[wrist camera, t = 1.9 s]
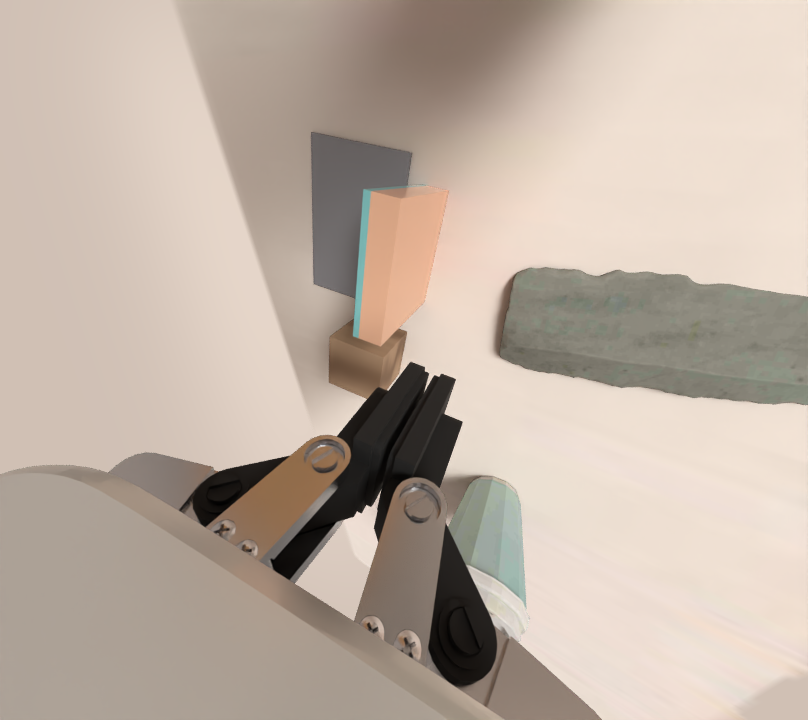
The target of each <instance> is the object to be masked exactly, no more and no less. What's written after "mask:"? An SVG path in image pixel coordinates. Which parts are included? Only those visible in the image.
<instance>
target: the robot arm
mask: <svg viewBox="0 0 808 720" xmlns="http://www.w3.org/2000/svg"><path fill="white" fill-rule="evenodd" d="M428 376H429V373H428V372H425V367H423V366H420V365H418V364H415V363H413V362H410V363H409V364H408V366H407V367H406V368H405V370H404V371H403V372H402V374H401V375H400V376H399V378H398V379H397V380H396V382H395V383H394V384H393V386H392V387H391V388H390V390H389V391H387V390H385V389H383V388H380V387H378V388H376V389H375V390H374V391H373V393H372V394H371V395H370V396H369V398H368V399H367V400H366V401H365V403H364V404H363V405H362V406H361V407H360V409H359V410H358V411H357V412H356V414H355V415H354V416H353V417H352V418H351V420H350V421H349V422H348V423H347V425H346V426H345V427H344V428H343V430H342V431H341V432H340V433H339V434H338V436H337V437H336V436H332V435H320V436H317V437H314V438H312V439H311V440H309V441H307V442H306V443H305V444H304V445H303V446H301V447H300V448H299V449H298V450H297V451H295V452H294V453H293V454H292V455H291V456H286V457H282V458H277V459H272V460H268V461H263V462H258V463H254V464H249V465H244V466H239V467H234V468H230V469H226V470H222V471H219V472H218V471H215V470H214V469H213V467H211V466H207V465H203V464H198V463H194V462H190V461H186V460H182V459H178V458H173V457H169V456H165V455H161V454H157V453H142V454H137V455H134V456H132V457H129V458H128V459H125V460H123V461H122V462H120V463H119V464H118V465H116V466H115V467H114V468H113V469H112V470H111V471H109V472H108V473H107V472H104V471H101V470H97V469H93V468H88V467H80V466H73V465H46V466H45V465H43V466H32V467H26V468H22V469H17V470H13V471H9V472H6V473H4V474H0V720H602V719H601V718H600V717H599V716H598V715H597V714H596V712H595V711H594V710H593V709H591V708H590V707H589V706H588V705H587V704H586V703H585V702H584V701H583V700H581V699H580V698H579V697H578V696H577V695H576V694H575V693H574V692H573V691H571V690H570V689H569V688H568V687H567V686H566V685H565V684H564V683H563V682H561V681H560V680H559V679H558V678H557V677H556V676H555V675H554V674H553V673H551V672H550V671H549V670H548V669H547V668H546V667H545V666H544V665H543V664H542V663H540V662H539V661H538V660H537V659H536V658H535V657H534V656H533V655H532V654H530V653H529V652H528V651H527V650H526V649H525V648H524V647H523V646H522V645H520V644H519V643H518V642H517V641H516V640H515V639H514V638H513V637H512V636H510V637H509V638H508V637H507V636H506V635H504V634H503V633H502V632H501V631H500V630H499V629H498V628H497V627H496V626H495V625H494V624H493V622H492V619H491V616H490V614H489V612H488V610H487V608H486V606H485V604H484V602H483V600H482V597H481V595H480V593H479V591H478V589H477V587H476V585H475V583H474V581H473V579H472V577H471V574H470V572H469V570H468V568H467V566H466V564H465V562H464V560H463V558H462V556H461V554H460V551H459V549H458V547H457V545H456V543H455V541H454V539H453V537H452V535H451V533H450V531H449V529H448V526H447V524H446V516H447V502H446V499H445V496H444V494H443V493H442V491H441V490H440V485H441V483H442V480H443V477H444V474H445V471H446V468H447V466H448V463H449V460H450V457H451V454H452V451H453V449H454V446H455V443H456V440H457V437H458V434H459V432H460V429H461V426H462V423H463V422H462V421H460V420H457V419H455V418H452V417H450V416H448V415H445V414H444V413H445V410H446V407H447V404H448V401H449V398H450V395H451V392H452V389H453V387H454V384H455V381H456V379H454V378H452V377H449V376H446V375H444V374H441V375H440V377H438V376H435V375H434V377H433V378H432V380H431V382H430V384H429V385H428V387H427V389H426V390H425V387H426V383H427V379H428ZM424 390H425V392H424ZM381 489H382V490H381ZM380 491H381V494H380V499H379V504H378V508H377V510H378V512H377V516H376V521H375V525H374V529H375V533H376V536H377V539H378V546H377V549H376V552H375V555H374V558H373V562H372V565H371V568H370V571H369V575H368V578H367V581H366V584H365V587H364V591H363V594H362V597H361V600H360V604H359V607H358V610H357V613H356V616H355V620H354V621H352V620H351V619H349V618H348V617H346V616H345V615H343V614H342V613H340V612H338V611H337V610H335V609H334V608H332V607H331V606H329V605H327V604H326V603H324V602H323V601H321V600H319V599H318V598H316V597H315V596H313V595H311V594H310V593H308V592H307V591H305V590H304V589H302V588H301V587H299V586H297V585H296V584H295V582H296V581H297V580H298V579H299V577H300V576H301V575H302V574H303V572H304V571H305V570H306V569H307V567H308V566H309V564H310V563H311V562H312V561H313V560H314V558H315V557H316V556H317V554H318V553H319V552H320V551H321V550H322V548H323V547H324V546H325V545H326V543H327V542H328V540H330V538H331V537H332V536H333V534H334V533H335V532H336V531H337V529H338V528H339V527H340V526H341V524H342V522H343V520H345V519H348V518H351V517H354V515H355V514H356V512H357V511H358V512H360V513H362V512H363V510H364V508H365V506H366V505H368V506H370V507H371V506H372V505H373V504H374V502H375V500H376V498H377V496H378V494H379V493H380Z"/></svg>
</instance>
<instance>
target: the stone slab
mask: <svg viewBox="0 0 808 720" xmlns="http://www.w3.org/2000/svg"><path fill="white" fill-rule="evenodd" d="M500 357H501V358H503V359H505V360H508V361H509V362H511V363H513V364H518V365H521V366H523V367H524V368H526V369H532V370H534V371H538V372H546V373H558V374H562V375H567V376H570V377H573V378H574V377H582V378H585V379H588V380H594V381H599V382H603V383H605V384H609V385H612V386H617V387H621V388H624V387H644V388H653V389H658V390H661V391H664V392H667V393H674V394H678V395H683V396H688V397H692V398H698V397H706V398H717V399H729V400H733V401H751V402H755V403H763V404H780V403H797V404H802V405H808V297H806V296H800V295H791V294H782V293H776V292H771V291H764V290H757V289H751V288H746V287H741V286H736V285H731V284H710V285H702V284H697V283H695V282H693V281H692V280H691V279H690V278H689V277H688V276H685V275H680V274H675V275H673V274H672V275H661V274H656V273H653V272H639V273H626V272H623V271H621V270H615V271H612V272H609V273H607V274H605V275H602V276H592V275H588V274H586V273H584V272H582V271H580V270H575V269H573V270H567V269H553V268H547V267H545V268H541V269H535V268H529V269H526V270H524V271H521V272H518V273H517V274H516V275H515V277H514V279H513V285H512V289H511V294H510V301H509V307H508V309H507V312H506V317H505V324H504V329H503V336H502V340H501V347H500Z"/></svg>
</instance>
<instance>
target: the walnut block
mask: <svg viewBox="0 0 808 720" xmlns="http://www.w3.org/2000/svg"><path fill="white" fill-rule="evenodd" d="M353 327H354V319H353V320H352V321H350V322H349V323H348V324H346V325H345V326H344V327H342V328H341V329H339V330H338V331H337V332H335V333H334V334H333V335H331V336H330V348H329V383H331V384H334V385H336V386H338V387H341V388H343V389H345V390H348V391H350V392H352V393H355V394H357V395H359V396H362V397H364V398H366V399H368V398H369V396H370V395H371V394H372V393H373V391H374V390H375V389H376V388H378V387H380V388H383V389H385V390H387V389H388V388H389V386H390V385H391V384H392V382H393V381H394V380H395V378H396V377H397V376H398V374H399V371H400V366H401V361H402V356H403V351H404V346H405V340H406V335H407V331H404V330H401V329H397V330H396V331H395V332H394V333H393V334H392V335H391V337H390V338H389V339H388V340H387V341H386V342H385V343H384V344H383V345H382V346H381V347H380V346H378V345H375V344H372V343H370V342H367V341H364V340H362V339H359V338H357V337H354V336H353Z"/></svg>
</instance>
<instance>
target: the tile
mask: <svg viewBox="0 0 808 720" xmlns="http://www.w3.org/2000/svg"><path fill="white" fill-rule="evenodd" d="M448 193H449V191H448V190H444V189H439V188H435V187H431V186H426V185H409V186H397V187H385V188H373V189H363V202H362V216H361V230H360V244H359V258H358V271H357V285H356V299H355V313H354V327H353V336H354V337H357V338H359V339H362V340H364V341H367V342H370V343H372V344H375V345H378V346H380V347H381V346H382V345H383V344H384V343H385V342H386V341H387V340H388V339H389V338H390V337H391V335H392V334H393V333H394V332H395V331H396V330H397V329H398V328H399V327H400V326H401V325H402V324H403V323H404V322H405V321H406V320H407V319H408V318H409V317H410V316H411V315H412V314H413V313H414V312H415V311H416V310H417V309H418V308H419V307H420V306H421V305H422V304H423V303H424V302H425V298H426V293H427V288H428V284H429V279H430V275H431V270H432V266H433V261H434V257H435V252H436V248H437V243H438V239H439V234H440V229H441V225H442V220H443V216H444V211H445V207H446V202H447V198H448Z"/></svg>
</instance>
